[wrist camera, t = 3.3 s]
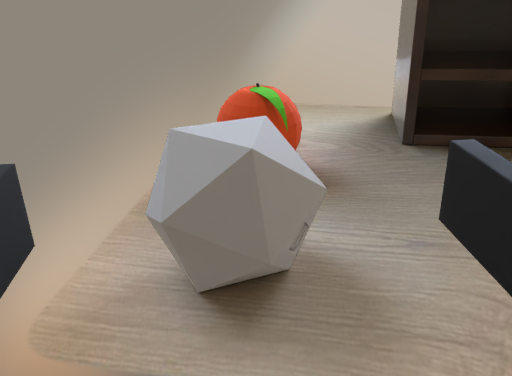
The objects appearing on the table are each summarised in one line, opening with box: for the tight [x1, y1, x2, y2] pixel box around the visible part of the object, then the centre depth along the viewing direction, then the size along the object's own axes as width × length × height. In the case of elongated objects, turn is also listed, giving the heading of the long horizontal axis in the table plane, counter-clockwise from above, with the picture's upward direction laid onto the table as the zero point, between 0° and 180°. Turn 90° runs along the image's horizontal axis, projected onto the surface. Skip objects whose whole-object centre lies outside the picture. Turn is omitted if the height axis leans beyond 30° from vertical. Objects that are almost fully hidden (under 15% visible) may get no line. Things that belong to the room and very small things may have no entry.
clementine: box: [217, 84, 302, 151], centre depth 39 cm, size 8×7×7 cm
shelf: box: [392, 0, 512, 147], centre depth 46 cm, size 16×11×14 cm
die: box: [146, 116, 328, 293], centre depth 25 cm, size 8×9×10 cm
